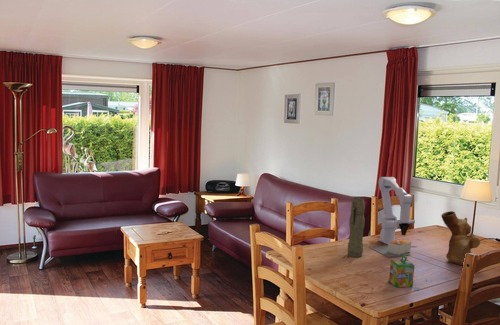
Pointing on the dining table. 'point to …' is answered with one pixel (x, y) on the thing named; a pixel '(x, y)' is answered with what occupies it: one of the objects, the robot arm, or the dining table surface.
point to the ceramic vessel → (459, 238)
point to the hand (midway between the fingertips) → (403, 234)
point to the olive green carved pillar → (356, 228)
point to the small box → (399, 247)
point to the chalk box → (401, 272)
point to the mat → (384, 251)
